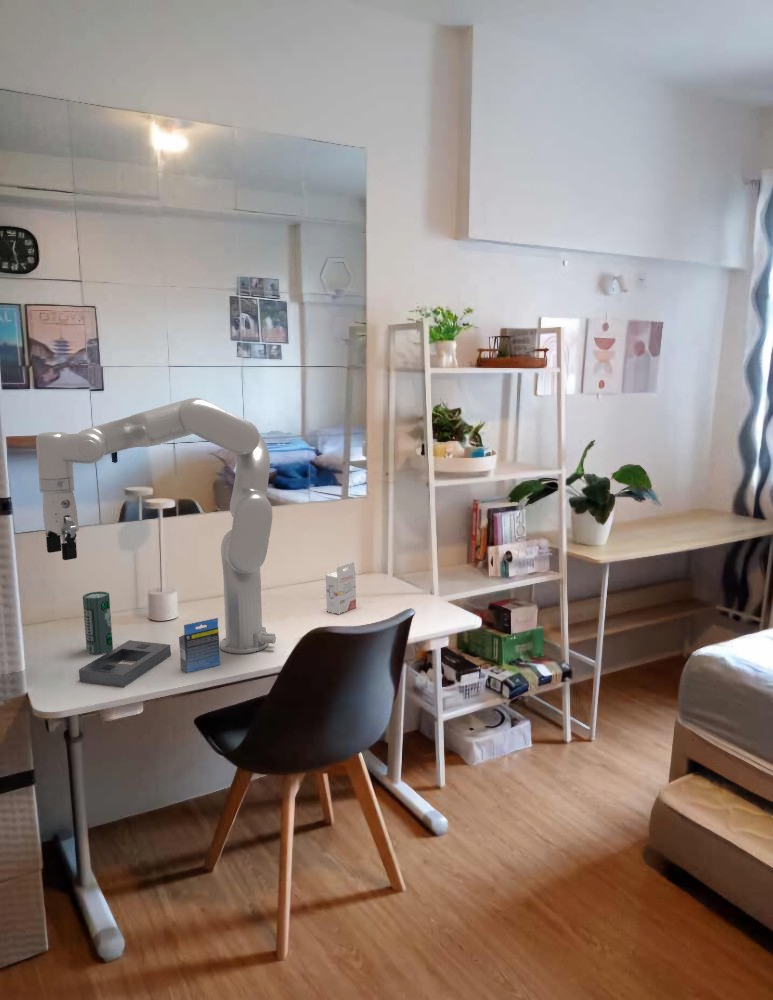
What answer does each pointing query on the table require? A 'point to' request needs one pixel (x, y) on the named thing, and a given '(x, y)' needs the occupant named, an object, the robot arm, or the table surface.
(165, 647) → the rail plate
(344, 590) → the ink cartridge box
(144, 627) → the table surface
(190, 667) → the label tape cartridge
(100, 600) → the can
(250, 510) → the robot arm
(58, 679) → the table surface
